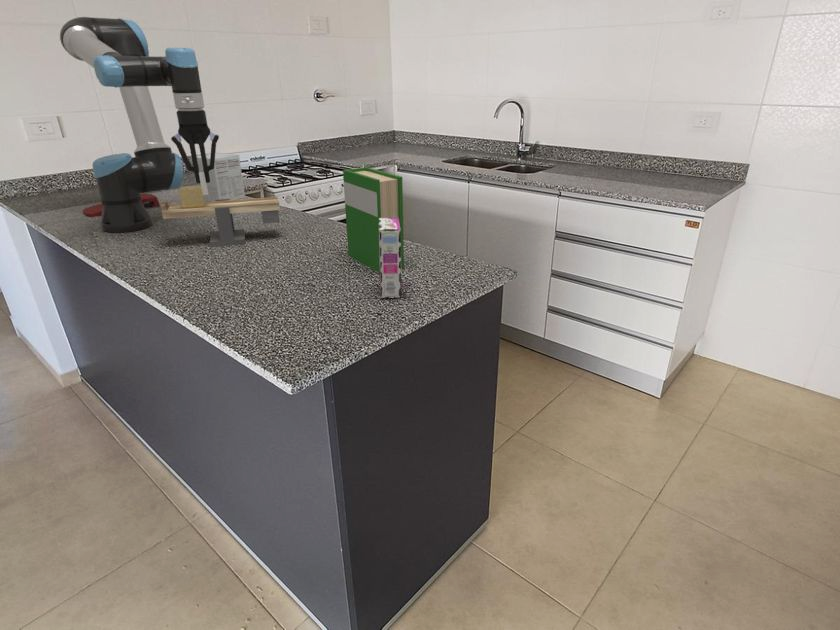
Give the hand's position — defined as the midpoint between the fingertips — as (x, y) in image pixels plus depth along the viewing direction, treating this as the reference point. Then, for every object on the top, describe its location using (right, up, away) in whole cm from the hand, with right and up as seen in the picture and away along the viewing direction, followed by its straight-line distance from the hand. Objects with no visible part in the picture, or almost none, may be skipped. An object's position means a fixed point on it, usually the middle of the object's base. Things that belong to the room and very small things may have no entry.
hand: (205, 194), depth 155 cm
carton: (-51, +4, +45) cm, 68 cm away
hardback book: (+52, -22, -12) cm, 58 cm away
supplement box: (-18, +12, +61) cm, 65 cm away
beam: (+4, -8, +5) cm, 10 cm away
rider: (-4, -4, +1) cm, 5 cm away
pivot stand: (+4, -13, +7) cm, 15 cm away
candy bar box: (+57, -30, -31) cm, 72 cm away
